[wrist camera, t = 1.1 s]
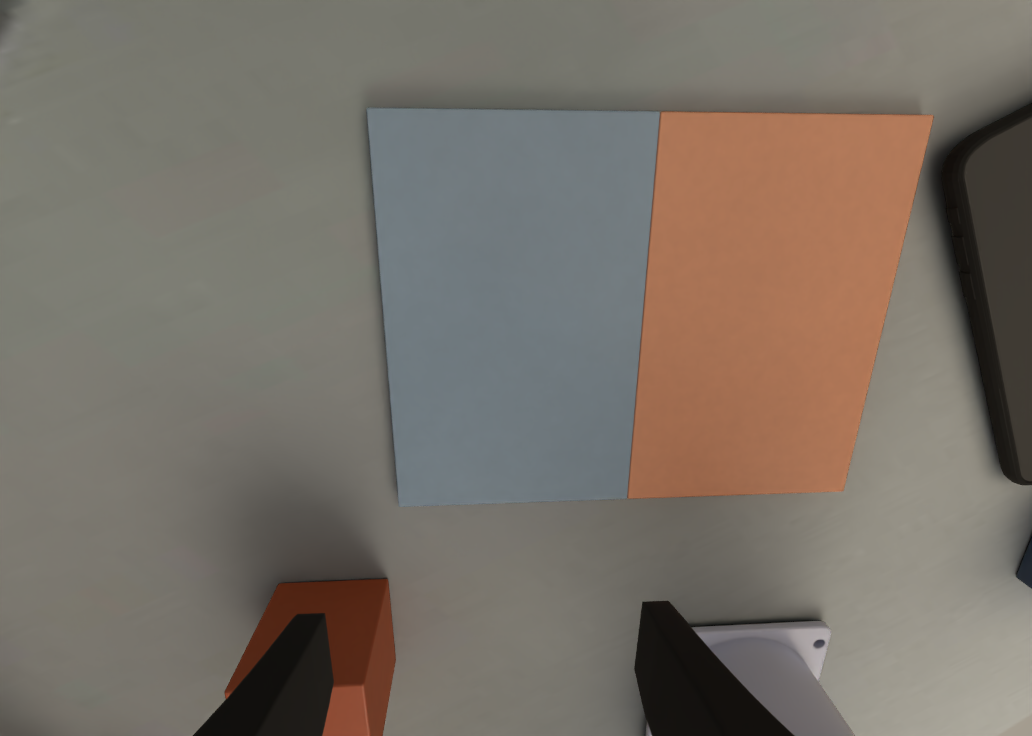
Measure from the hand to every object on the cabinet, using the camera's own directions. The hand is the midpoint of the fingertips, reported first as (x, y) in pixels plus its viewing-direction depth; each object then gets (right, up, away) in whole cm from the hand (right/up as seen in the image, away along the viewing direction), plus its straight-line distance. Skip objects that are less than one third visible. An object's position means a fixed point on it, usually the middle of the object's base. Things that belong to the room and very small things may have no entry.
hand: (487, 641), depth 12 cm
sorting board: (+5, +8, +7) cm, 12 cm away
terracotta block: (-7, -5, +11) cm, 14 cm away
